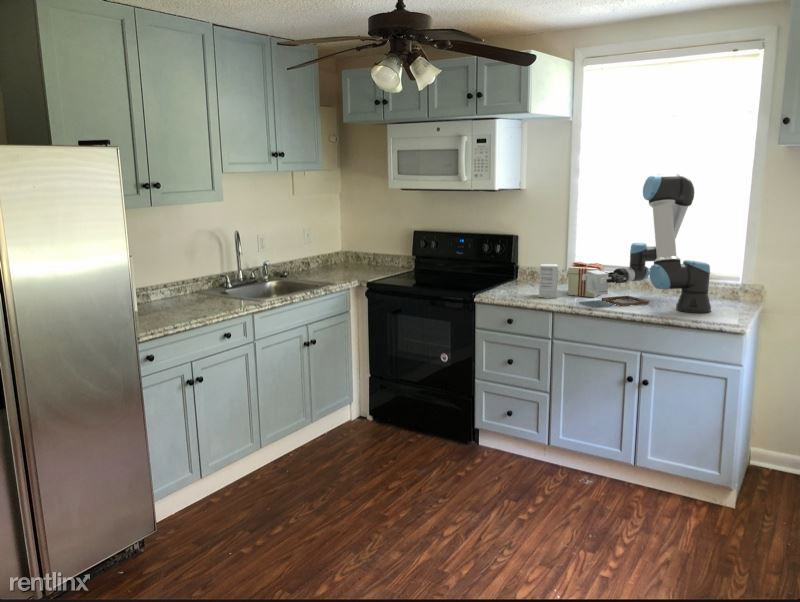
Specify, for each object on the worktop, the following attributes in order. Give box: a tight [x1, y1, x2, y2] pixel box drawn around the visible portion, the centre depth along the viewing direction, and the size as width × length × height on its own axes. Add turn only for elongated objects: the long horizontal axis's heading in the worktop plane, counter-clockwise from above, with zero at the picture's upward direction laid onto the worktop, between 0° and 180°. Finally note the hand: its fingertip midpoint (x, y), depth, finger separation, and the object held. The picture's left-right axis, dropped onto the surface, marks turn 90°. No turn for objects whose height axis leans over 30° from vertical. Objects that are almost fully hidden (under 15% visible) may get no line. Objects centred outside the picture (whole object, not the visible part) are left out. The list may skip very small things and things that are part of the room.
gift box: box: [567, 261, 605, 298], centre depth 358 cm, size 17×18×17 cm
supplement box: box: [538, 263, 559, 299], centre depth 352 cm, size 10×9×17 cm
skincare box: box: [586, 270, 609, 296], centre depth 331 cm, size 10×6×10 cm, turn 12°
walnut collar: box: [601, 295, 650, 307], centre depth 336 cm, size 16×16×2 cm
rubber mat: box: [578, 299, 615, 308], centre depth 332 cm, size 12×12×1 cm
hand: (591, 279), depth 328 cm, fingers closed on skincare box, 11 cm apart
